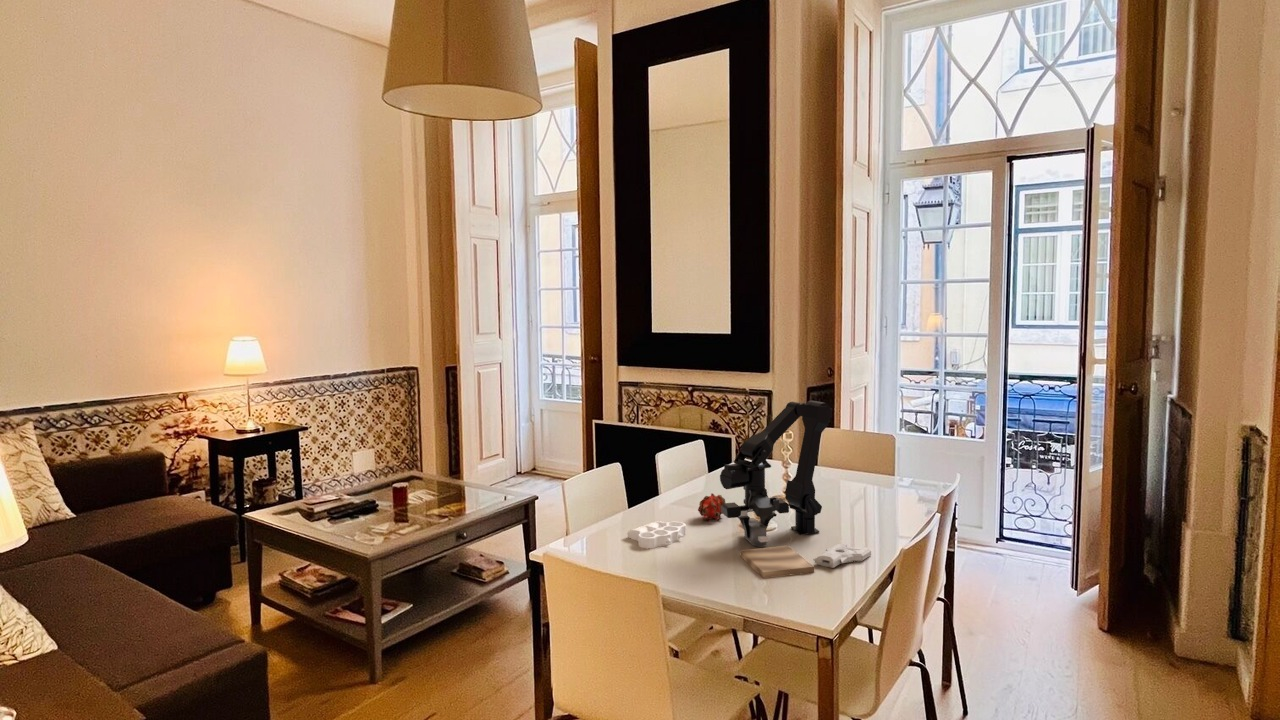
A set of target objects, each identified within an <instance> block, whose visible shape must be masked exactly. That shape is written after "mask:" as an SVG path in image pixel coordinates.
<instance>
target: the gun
mask: <svg viewBox="0 0 1280 720" xmlns="http://www.w3.org/2000/svg"><path fill="white" fill-rule="evenodd" d="M870 556H872V550H871V549H870V548H868V547H866V546H864V547H862V548H858V547H852V546H848V545H847V544H845V543H838V544H836V545H834V546H832V547H830V548H828V549H826V550H825V552H824V553H822V554H820V555H818V556H817V557H814V558H812V561H813V562H814V564H816V565H818V566H823V567H827V568H831V569H834V568H835V567H837V566H840V564H848V563H851V562H853V561H854V562H855V561H861V562H862V561H864V560H865V559H867V558H868V557H870Z"/></svg>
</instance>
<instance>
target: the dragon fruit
mask: <svg viewBox="0 0 1280 720" xmlns="http://www.w3.org/2000/svg"><path fill="white" fill-rule="evenodd" d="M723 503H726V499H725V497H723V496H722V494H717V495H715V494H714V493H710V495H705V496H704V497H703V498H702V499H701V500H700V502H699V507H698V508H697V512H698V513H699V514H700V516H702V517H703V518H702V520H703V521H704V520H705V521H709V520H708V519H710V520H711V519H715V520H716V519H717V520H716V521H718V520H719V519H721V517H722V516H721V515H724V514H723V513H721V507H722V505H723Z"/></svg>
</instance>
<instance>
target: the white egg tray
mask: <svg viewBox="0 0 1280 720" xmlns="http://www.w3.org/2000/svg"><path fill="white" fill-rule="evenodd" d="M626 535H627V537H628V538H629V539H630V538H631V539H630V540H633V539H634V541H637V542H638V547H640V548H642V549H648V548H650V549H655V548H657V547H661V546H668V545H671V544H672V543H676V542H679V541H680V540H681V539H682V538H685V536H686V535H687V525H686V523H684V522H682V521H669V522H668V521H667V522H666V521H665V522H664V521H661V520H654V521H652V522H649V523H647V524H644V525H641V526H639V527H637V528H632V529H630V530H628V531H627V533H626ZM684 535H685V536H684Z"/></svg>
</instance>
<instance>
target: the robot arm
mask: <svg viewBox="0 0 1280 720" xmlns="http://www.w3.org/2000/svg"><path fill="white" fill-rule="evenodd" d="M832 414H833V409H832V407H831V405H830V404H829V403H827V402H824V401H823V402H822V401H816V400H809V401H806V403H805V402H797V401H789V402H788V403H786V405H785V407H784V408H783V409H782V410H781V411H780V412H779V414H777V415H776V416H775V418H773V419H772V421H771V422H769V423H768V424H767V426H766V427H764V429H763V430H761V431H760V432H758V433H755V434H753V435H752V436H750V437H748V438H746V439H745V440H744V441H743V443H741V445H740V447H741V448H740V450H739V452H738V454H737V455H736V457H735V458H734V461H733V463H731V464H730V463H728V464H724V467H723V468H724V469H722V470H721V472H720V475H719V480H720V484H721V486H722V487H723V488H724V489H725V490H731V489H736V488H737V489H738V488H743V490H744V499H743V504H744V505H738V504H737V503H736V502H725V503H723V505H722V507H721V513H723V514H722V515H724V516H725V518H727V519H735V518H737V519H738V520H739V521H740V524H741V526H742V528H743V532H744V531H745V534H746V536H747V538H749V537H750V530H749V520H750V518H751V517H750V516H749V514H748V513H749V512H750V513H751V512H753V513H754V514H755V516H756V517H758V518H759V521H760V522H761V523H762V524H763V525H765V526H766V530H767V528H768V525H769V524H770V522H771V519H773V518H774V517H777V513H779V514H788V513H789V512H790V509H792V510H794V511H795V516H794V517H795V525H794V526H790V529H792V531H794V532H795V533H797V534H798V535H812V534H819V533H820V530H819V529H817V528H816V523H815V522H816V520H815V519H816V516H817V515H818V514H821V511H822V508H823V506H822V505H821V504H820V502H819V501H818V500H817V499H816V488H815V484H814V481H813V478H814V473H815V468H816V463H817V459H818V453H819V449H820V442H821V438H822V434H823V432H824V431H825V429H826V428H827V427H828V426H829V423H830V421H831V418H832V416H833V415H832ZM799 418H801V420H802V423H803V427H804V433H803V437H802V442H801V447H800V452H799V457H798V462H797V468H796V472H795V473H796V474H795V476H794V477H793V478H792V479H791V480H789V479H788V480H787V481H786V488H785V490H784V494H785V497H784V498H785V500H786V501H785V500H784V499H782V498H779V497H777V496H775V497H774V496H772V497H769V496H768V491H767V488H766V469H770V468H772V465H771V464H770V463H769V462H768V461H767V459H768V458H769V456H770V455H771V453H772V452H773V451H774V446H775V444H776V442H777V441H778V440H779V439H780V438H781V437H782V436H783V435H784V434H785V433H786V431H788V430H789V429H790V428H791V427H792V425H794V423H795V422H796V421H798V419H799ZM746 459H747V460H746ZM776 512H777V513H776Z"/></svg>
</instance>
